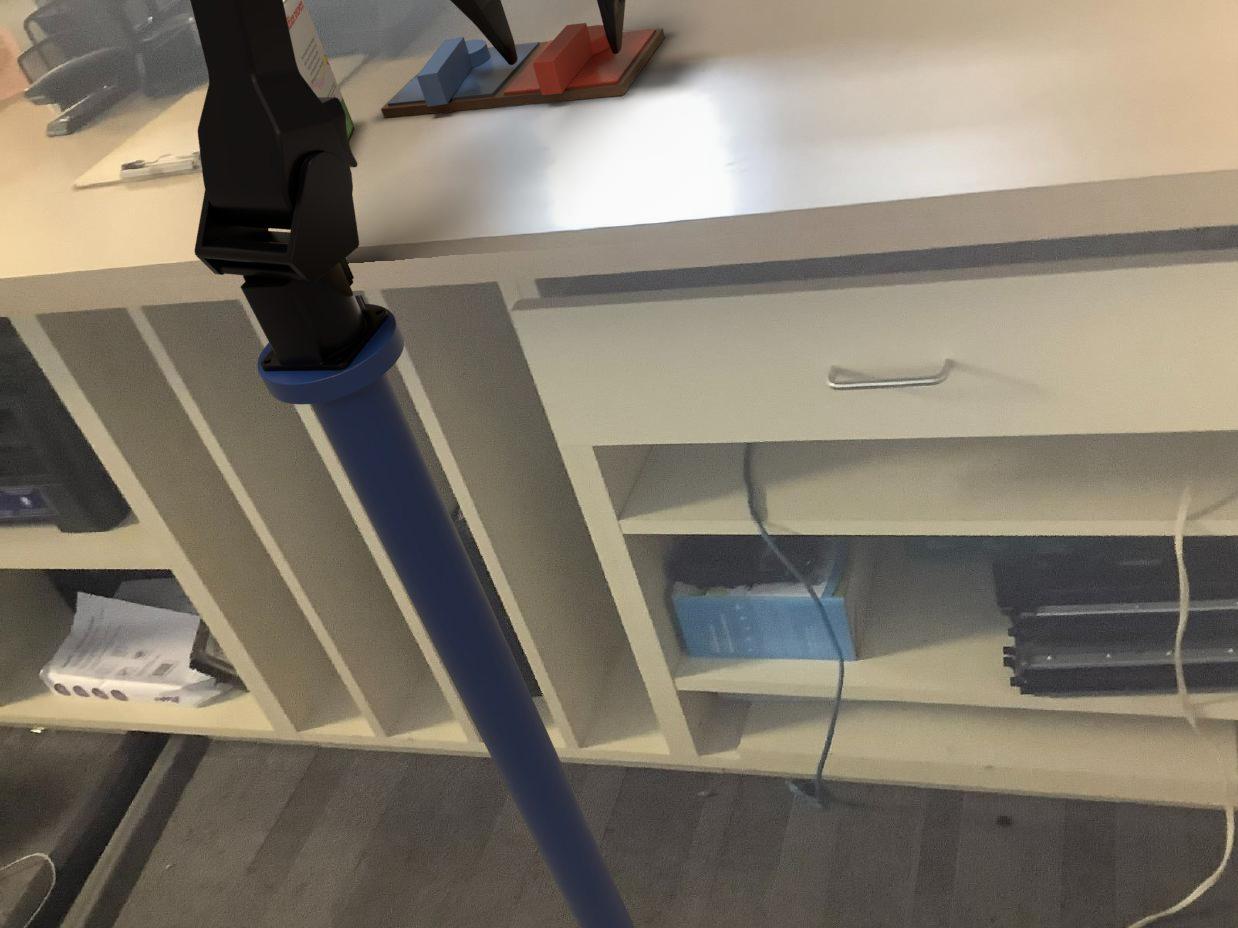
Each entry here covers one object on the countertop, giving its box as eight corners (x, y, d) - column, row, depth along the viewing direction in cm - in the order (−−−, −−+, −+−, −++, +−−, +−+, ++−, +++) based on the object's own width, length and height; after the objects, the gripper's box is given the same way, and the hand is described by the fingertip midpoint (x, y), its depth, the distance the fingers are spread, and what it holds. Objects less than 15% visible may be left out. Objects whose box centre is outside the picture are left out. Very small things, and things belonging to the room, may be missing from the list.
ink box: (301, 138, 97) (238, -5, 90) (356, 125, 97) (298, -20, 89) (280, 180, 91) (211, 30, 83) (340, 167, 90) (275, 14, 83)
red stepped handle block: (574, 92, 90) (566, 59, 88) (529, 96, 91) (519, 64, 89) (619, 36, 98) (611, 5, 96) (576, 41, 99) (568, 10, 97)
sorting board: (623, 95, 90) (620, 82, 89) (383, 117, 97) (379, 106, 96) (665, 37, 98) (662, 25, 98) (441, 61, 105) (437, 51, 105)
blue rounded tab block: (460, 102, 93) (449, 70, 92) (415, 108, 94) (403, 77, 93) (495, 49, 102) (486, 20, 100) (453, 56, 103) (444, 27, 101)
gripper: (659, -208, 85) (699, 8, 95) (439, -167, 91) (499, 32, 101) (613, -169, 77) (662, 61, 87) (376, -128, 83) (448, 83, 93)
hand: (564, 57), depth 92 cm, fingers open, 9 cm apart
